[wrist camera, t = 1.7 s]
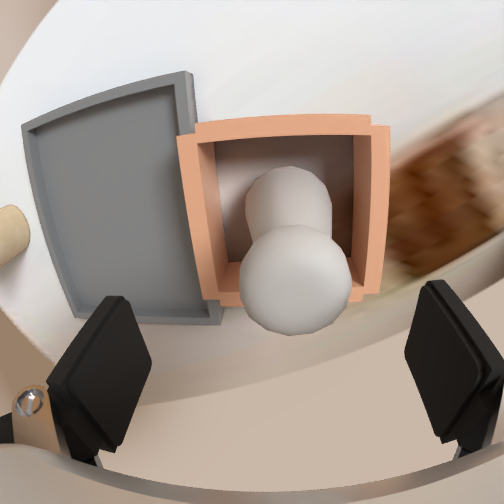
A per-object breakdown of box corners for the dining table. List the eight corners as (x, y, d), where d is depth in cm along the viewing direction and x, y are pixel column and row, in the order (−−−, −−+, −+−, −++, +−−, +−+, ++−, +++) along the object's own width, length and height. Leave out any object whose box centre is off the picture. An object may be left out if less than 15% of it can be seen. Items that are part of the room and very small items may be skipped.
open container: (368, 115, 19) (389, 116, 15) (363, 269, 24) (377, 299, 20) (195, 123, 20) (175, 126, 16) (216, 275, 25) (204, 306, 21)
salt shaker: (299, 248, 24) (313, 377, 12) (234, 212, 23) (189, 322, 11) (340, 186, 21) (407, 276, 9) (273, 145, 20) (266, 188, 9)
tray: (192, 74, 18) (184, 70, 16) (224, 311, 27) (220, 325, 25) (35, 122, 20) (20, 125, 18) (83, 306, 29) (74, 317, 27)
